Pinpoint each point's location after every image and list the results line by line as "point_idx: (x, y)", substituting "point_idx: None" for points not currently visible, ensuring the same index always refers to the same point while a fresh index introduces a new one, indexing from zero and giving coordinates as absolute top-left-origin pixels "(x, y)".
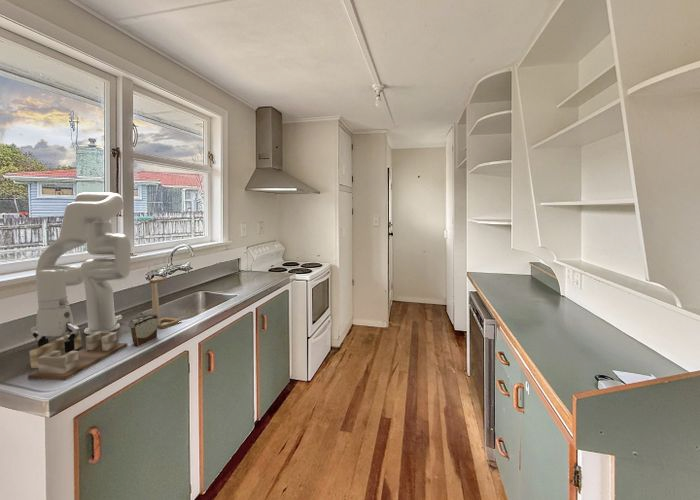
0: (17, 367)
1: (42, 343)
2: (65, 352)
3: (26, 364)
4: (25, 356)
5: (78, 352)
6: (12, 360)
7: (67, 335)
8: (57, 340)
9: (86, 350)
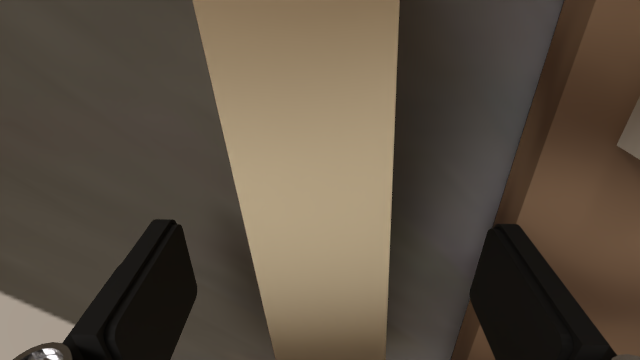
0: (213, 350)
1: (157, 357)
2: (475, 298)
3: (221, 321)
4: (16, 215)
5: (547, 205)
6: (24, 277)
7: (267, 142)
8: (327, 351)
9: (619, 155)
